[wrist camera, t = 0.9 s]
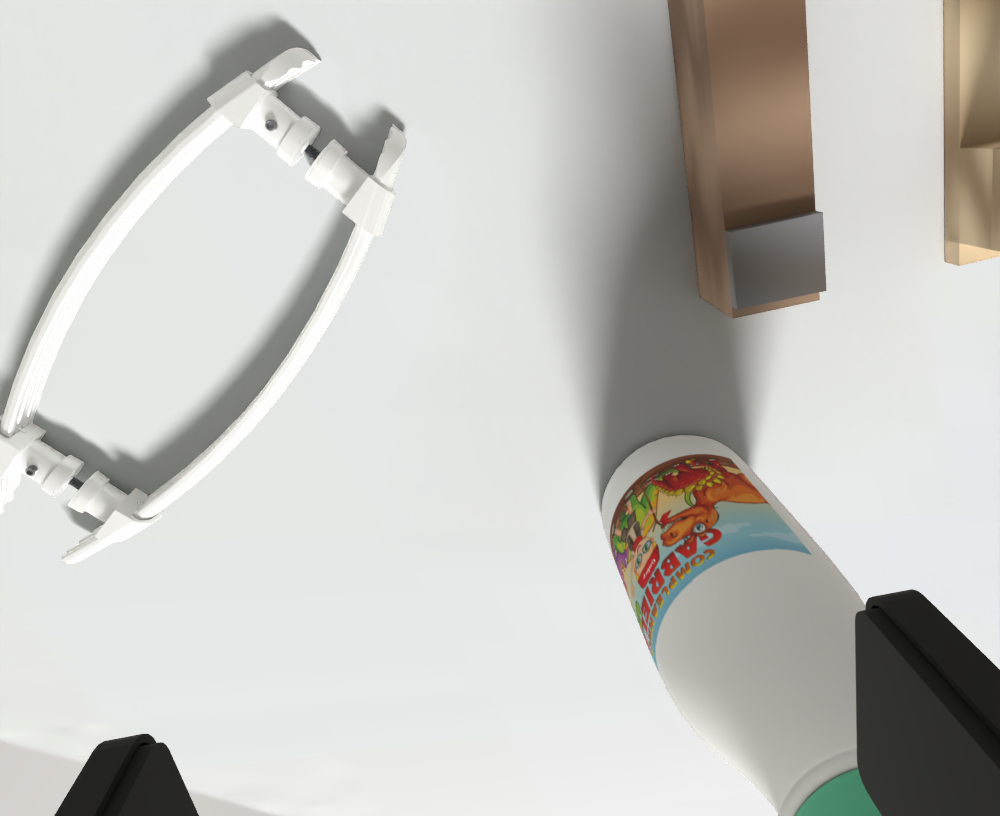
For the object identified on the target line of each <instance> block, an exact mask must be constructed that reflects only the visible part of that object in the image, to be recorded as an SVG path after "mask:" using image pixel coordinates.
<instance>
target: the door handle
mask: <svg viewBox="0 0 1000 816" xmlns="http://www.w3.org/2000/svg"><path fill="white" fill-rule="evenodd" d="M320 62H321V61H320V60H319V59H318V58H317V57H315V56H314V55H313V54H312V53H311V52H310V51H308V50H306V49H303V48H291V49H288V50H286V51H285V52H283V53H281V54H280V55H278V56H277V57H275V58H274V59H272V60H270V61H269V62H268V63H266V64H265V65H263V66H262V67H261V68H259V69H258V70H257V71H255V72H254V73H252V72H250V71H247V70H246V71H245V72H243V73H242V74H241V75H239V76H238V77H236V78H235V79H234V80H232V81H231V82H229V83H228V84H226V85H225V86H224V87H222V88H221V89H219V90H218V91H217V92H215V93H214V94H212V95H211V96H210V97H208V98H207V100H208V102H209V103H210V104H211V106H210V107H209V108H208V109H207V110H206V111H205V112H203V113H202V114H201V115H200V116H199V117H198V118H197V119H195V120H194V121H193V122H192V123H191V124H190V125H188V126H187V127H186V128H185V129H184V130H183V131H182V132H180V133H179V134H178V135H177V136H176V137H175V138H174V139H173V140H172V141H171V142H170V143H169V144H168V145H167V147H166V148H165V149H164V150H163V151H162V152H161V153H160V154H159V155H158V156H157V157H156V158H155V159H154V160H153V161H152V162H151V163H150V164H149V165H148V166H147V167H146V168H145V169H144V170H143V171H142V172H141V173H140V174H139V175H138V177H137V178H136V179H135V180H134V181H133V182H132V184H131V185H130V186H129V187H128V188H127V190H126V191H125V192H124V193H123V194H122V195H121V197H120V198H119V199H118V200H117V201H116V203H115V204H114V205H113V206H112V207H111V208H110V210H109V211H108V212H107V213H106V215H105V216H104V217H103V219H102V220H101V222H100V223H99V224H98V226H97V227H96V229H95V230H94V231H93V233H92V234H91V235H90V237H89V238H88V240H87V241H86V242H85V244H84V245H83V247H82V248H81V249H80V251H79V252H78V254H77V255H76V257H75V258H74V260H73V262H72V263H71V265H70V267H69V268H68V270H67V271H66V273H65V275H64V276H63V278H62V280H61V281H60V283H59V285H58V286H57V288H56V290H55V291H54V293H53V295H52V297H51V299H50V301H49V303H48V305H47V307H46V309H45V311H44V313H43V315H42V317H41V319H40V321H39V323H38V325H37V327H36V329H35V331H34V333H33V335H32V337H31V339H30V342H29V344H28V347H27V349H26V352H25V354H24V357H23V359H22V362H21V364H20V367H19V369H18V372H17V374H16V377H15V379H14V382H13V385H12V388H11V391H10V395H9V398H8V401H7V404H6V408H5V411H4V414H1V415H0V513H3V510H4V505H5V504H6V503H7V502H8V501H11V500H12V499H13V496H14V489H15V488H16V487H17V486H18V485H19V484H20V481H21V475H22V473H23V474H25V475H27V476H28V477H30V478H31V479H33V480H35V481H36V482H38V483H40V484H41V485H42V486H41V489H42V490H44V491H45V492H46V493H48V494H49V495H51V496H52V497H54V498H55V497H57V496H58V495H59V494H60V493H61V492H62V491H63V490H64V489H65V488H66V487H67V486H68V485H69V484H71V485H72V486H73V487H75V488H77V489H78V491H77V493H76V494H75V495H74V496H73V498H72V499H71V501H70V502H69V504H68V506H69V507H70V508H72V509H74V510H76V511H78V512H80V513H84V512H85V511H86V512H88V513H89V514H91V515H93V516H94V517H96V518H98V519H99V520H101V521H103V522H104V523H105V524H103V525H101V526H99V527H98V528H96V529H95V530H94V531H93V532H92V533H91V534H89V535H87V536H86V537H84V538H82V539H80V541H79V544H78V545H76V546H74V547H73V548H71V549H69V550H67V553H66V554H64V555H63V556H62V560H63V561H64V562H65V563H66V564H75V563H77V562H79V561H81V560H83V559H85V558H87V557H88V556H90V555H92V554H94V553H95V552H97V551H99V550H101V549H103V548H104V547H106V546H108V545H110V544H112V543H113V542H121V541H124V540H126V539H128V538H130V537H131V536H133V535H134V534H136V533H138V532H139V531H141V530H143V529H144V528H146V527H148V526H149V525H151V524H152V523H154V522H156V521H157V520H159V519H160V518H161V517H162V515H163V512H164V508H166V507H167V506H168V505H170V504H171V503H172V502H173V501H175V500H176V499H177V498H179V497H180V496H181V495H183V494H184V493H185V492H187V491H188V490H189V489H190V488H191V487H193V486H194V485H195V484H196V483H197V482H198V481H199V480H201V479H202V478H203V477H204V476H205V475H206V474H207V473H208V472H210V471H211V470H212V469H213V468H214V467H215V466H216V465H217V464H219V463H220V462H221V461H222V460H223V459H224V458H225V457H226V456H227V455H228V454H229V453H230V452H231V451H232V450H233V449H234V448H235V447H236V446H237V445H238V444H239V443H240V442H241V441H242V440H243V439H244V438H245V437H246V436H247V435H248V433H249V432H250V431H251V430H252V429H253V428H254V427H255V426H256V425H257V424H258V423H259V421H260V420H261V419H262V418H263V417H264V415H265V414H266V413H267V412H268V411H269V410H270V408H271V407H272V406H273V405H274V404H275V402H276V401H277V400H278V399H279V398H280V397H281V395H282V394H283V392H284V391H285V390H286V388H287V387H288V386H289V384H290V383H291V381H292V380H293V379H294V377H295V376H296V375H297V373H298V372H299V370H300V369H301V368H302V366H303V365H304V364H305V362H306V361H307V359H308V358H309V356H310V355H311V353H312V352H313V350H314V348H315V347H316V345H317V344H318V342H319V340H320V339H321V337H322V336H323V334H324V332H325V331H326V329H327V327H328V326H329V324H330V323H331V321H332V319H333V318H334V316H335V314H336V312H337V311H338V309H339V307H340V305H341V303H342V301H343V299H344V297H345V295H346V293H347V292H348V290H349V288H350V286H351V284H352V282H353V280H354V278H355V276H356V274H357V273H358V271H359V268H360V266H361V264H362V262H363V259H364V257H365V255H366V252H367V250H368V248H369V246H370V243H371V241H372V239H373V237H374V236H375V237H378V238H381V236H382V233H383V230H384V227H385V224H386V221H387V219H388V216H389V213H390V210H391V207H392V204H393V201H394V198H395V195H396V193H395V192H394V190H393V189H392V187H393V185H394V182H395V179H396V176H397V174H398V171H399V167H400V164H401V161H402V157H403V154H404V150H405V147H406V137H405V134H404V133H403V132H402V131H401V130H399V129H398V128H397V127H396V126H395V125H394V124H392V127H391V128H390V131H389V135H388V138H387V139H386V140H385V143H384V147H383V150H382V154H381V155H380V157H379V160H378V164H377V167H376V170H375V172H374V174H373V175H371V176H370V175H369V174H368V173H366V172H365V171H364V170H363V169H362V168H360V167H359V166H358V165H357V164H356V163H354V162H353V161H352V160H351V159H350V158H348V157H347V153H348V151H347V150H346V149H344V148H343V147H342V146H341V145H340V144H339V143H338V142H337V141H336V140H335V139H333V140H332V141H331V142H330V143H329V144H328V145H327V146H326V147H325V148H324V149H323V150H322V152H321V153H320V152H319V151H317V150H316V149H315V148H313V147H312V143H313V142H314V140H315V139H316V137H317V136H318V134H319V132H320V129H321V127H320V126H318V125H317V124H316V123H314V122H313V121H312V120H310V119H309V118H308V117H306V116H303V117H302V118H301V117H299V116H298V115H297V114H296V113H295V112H293V111H292V110H291V109H290V108H289V107H287V106H286V105H285V104H284V103H283V102H282V101H280V100H279V99H278V98H277V96H278V94H279V93H278V92H277V90H278V89H279V88H281V87H282V86H284V85H285V84H286V83H288V82H289V81H291V80H292V79H294V78H296V77H297V76H299V75H300V74H302V73H304V72H305V71H307V70H308V69H310V68H312V67H313V66H315V65H316V64H318V63H320ZM232 124H234V125H235V126H236V127H237V128H239V129H252V130H254V131H255V132H256V133H257V134H259V135H260V136H261V137H262V138H263V139H265V140H266V141H267V142H268V143H270V144H271V145H272V146H273V147H275V148H276V149H277V155H278V156H279V157H280V158H281V159H283V160H284V161H285V162H286V163H287V164H288V165H289V166H291V167H292V166H294V165H295V164H296V163H297V162H298V161H299V160H300V159H301V158H302V157H303V156H304V154H305V153H306V154H308V155H309V156H310V157H311V158H313V160H315V161H314V162H313V164H312V165H311V167H310V168H309V170H308V172H307V173H306V176H305V179H306V180H308V181H309V182H310V183H312V184H313V185H315V186H316V187H317V188H319V189H321V188H322V187H324V188H325V189H326V190H327V191H329V192H330V193H331V194H332V195H333V196H335V197H336V198H337V199H338V200H340V201H341V202H342V203H343V204H344V205H346V207H345V208H344V210H343V211H342V213H344V214H345V215H346V216H347V217H348V218H350V219H351V220H352V221H353V222H354V223H356V225H355V227H354V229H353V232H352V234H351V236H350V238H349V241H348V243H347V245H346V248H345V250H344V252H343V255H342V257H341V259H340V262H339V264H338V266H337V268H336V270H335V272H334V274H333V276H332V278H331V280H330V282H329V284H328V286H327V287H326V289H325V291H324V293H323V295H322V297H321V299H320V301H319V303H318V305H317V307H316V309H315V311H314V312H313V314H312V316H311V317H310V319H309V321H308V322H307V324H306V325H305V327H304V329H303V330H302V332H301V334H300V335H299V337H298V339H297V340H296V342H295V343H294V345H293V347H292V348H291V350H290V352H289V353H288V355H287V356H286V357H285V359H284V360H283V362H282V363H281V364H280V366H279V367H278V369H277V370H276V371H275V373H274V374H273V376H272V377H271V378H270V380H269V381H268V383H267V384H266V385H265V387H264V388H263V389H262V390H261V392H260V393H259V394H258V395H257V396H256V398H255V399H254V400H253V401H252V402H251V404H250V405H249V406H248V407H247V408H246V410H245V411H244V412H243V413H242V414H241V415H240V416H239V417H238V418H237V419H236V420H235V421H234V422H233V423H232V424H231V425H230V426H229V427H228V428H227V429H226V430H225V431H224V432H223V433H222V434H221V435H220V436H219V437H218V439H217V440H216V441H214V442H213V443H212V444H211V445H210V446H209V447H208V448H207V449H206V450H204V451H203V452H202V453H201V454H200V455H199V456H198V457H197V458H195V459H194V460H193V461H192V462H191V463H190V464H189V465H188V466H186V467H185V468H184V469H183V470H182V471H180V472H179V473H178V474H176V475H175V476H174V477H173V478H171V479H170V480H169V481H167V482H166V483H165V484H163V485H162V486H161V487H160V488H158V489H157V490H156V491H154V492H153V493H152V494H150V495H149V496H148V495H147V494H145V493H143V492H142V491H140V490H139V489H137V488H135V489H134V490H133V491H132V492H131V493H130V494H129V495H127V494H126V493H124V492H123V491H121V490H119V489H118V488H116V487H115V486H113V485H111V484H110V483H109V481H110V479H109V478H107V477H106V476H104V475H103V474H102V473H100V472H99V471H96V472H95V473H94V474H93V475H92V476H91V477H90V478H89V479H88V480H87V481H86V482H85V483H83V482H81V481H79V480H78V479H76V478H75V477H76V475H77V474H78V473H79V471H80V470H81V468H82V467H83V466H84V462H83V461H81V460H79V459H77V458H76V457H74V456H72V455H69V456H67V457H66V456H65V455H63V454H61V453H60V452H58V451H57V450H55V449H53V448H52V447H50V446H49V445H47V444H45V443H44V442H42V441H41V439H42V437H43V436H44V435H45V433H46V431H45V430H43V429H41V428H40V427H38V426H37V425H35V424H34V423H33V419H34V416H35V413H36V410H37V407H38V404H39V401H40V398H41V395H42V392H43V389H44V385H45V382H46V379H47V377H48V374H49V372H50V370H51V367H52V365H53V363H54V360H55V358H56V355H57V353H58V351H59V348H60V346H61V343H62V341H63V339H64V336H65V335H66V333H67V331H68V329H69V327H70V325H71V323H72V321H73V319H74V317H75V315H76V313H77V311H78V309H79V307H80V305H81V303H82V301H83V300H84V298H85V296H86V294H87V293H88V291H89V289H90V288H91V286H92V285H93V283H94V281H95V280H96V278H97V277H98V275H99V273H100V272H101V270H102V268H103V267H104V265H105V264H106V262H107V261H108V259H109V258H110V257H111V255H112V254H113V252H114V251H115V250H116V248H117V247H118V246H119V244H120V243H121V242H122V240H123V239H124V237H125V236H126V235H127V233H128V232H129V231H130V229H131V228H132V227H133V225H134V224H135V223H136V221H137V220H138V219H139V218H140V217H141V216H142V214H143V213H144V212H145V211H146V210H147V209H148V207H149V206H150V205H151V204H152V203H153V202H154V200H155V199H156V198H157V197H158V196H159V195H160V193H161V192H162V191H163V190H164V189H165V188H166V186H167V185H168V184H169V183H170V182H171V181H172V180H173V179H174V178H175V177H176V176H177V175H178V174H179V173H180V172H181V171H182V170H183V169H184V168H185V167H186V166H187V165H188V164H189V163H190V162H191V161H192V160H193V159H194V158H195V157H196V156H197V155H198V154H199V153H200V152H201V151H202V150H203V149H204V148H206V147H207V146H208V145H209V144H210V143H211V142H213V141H214V140H215V139H216V138H217V137H218V136H220V135H221V134H222V133H223V132H224V131H225V130H227V129H228V128H229V127H230V126H231V125H232ZM77 463H78V464H77Z"/></svg>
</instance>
